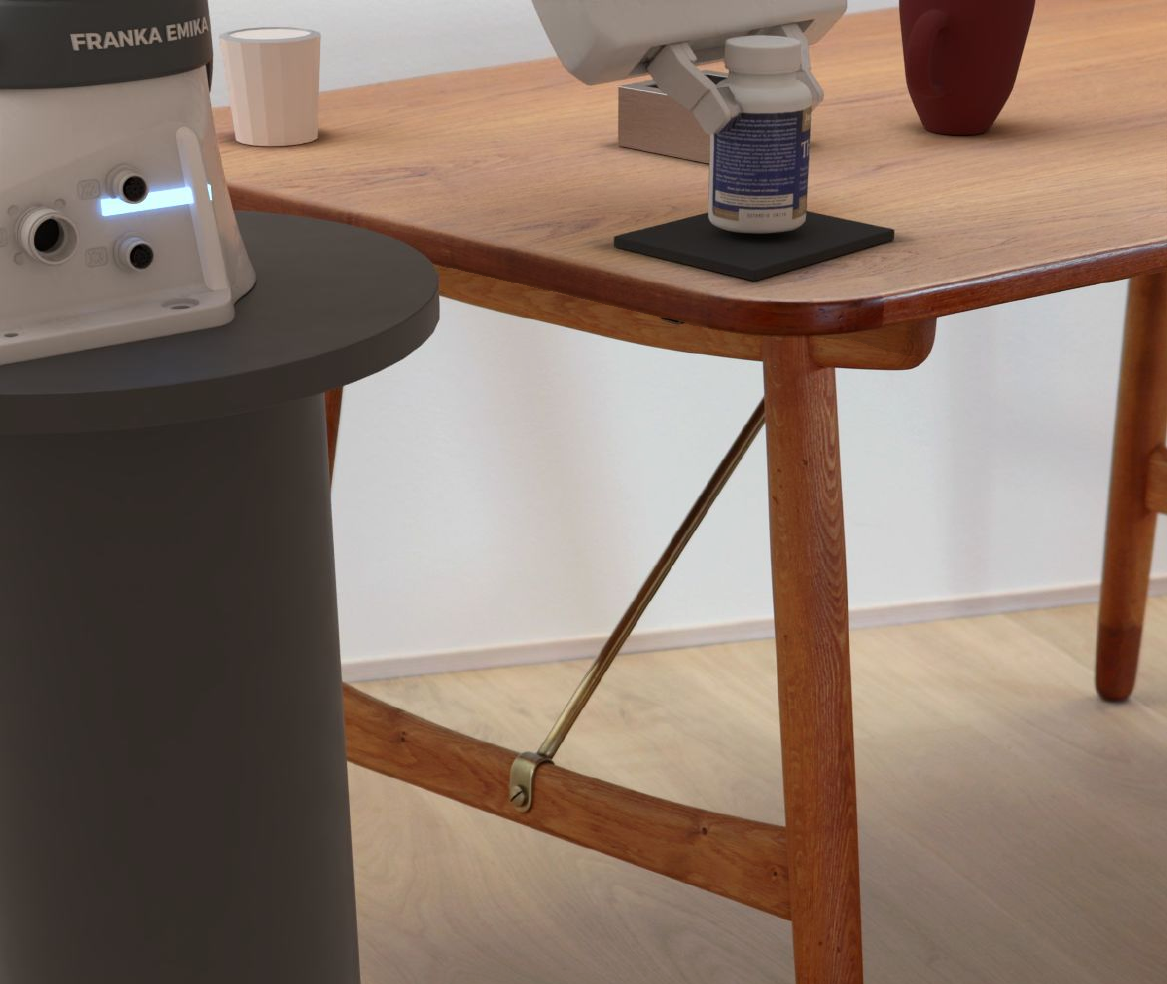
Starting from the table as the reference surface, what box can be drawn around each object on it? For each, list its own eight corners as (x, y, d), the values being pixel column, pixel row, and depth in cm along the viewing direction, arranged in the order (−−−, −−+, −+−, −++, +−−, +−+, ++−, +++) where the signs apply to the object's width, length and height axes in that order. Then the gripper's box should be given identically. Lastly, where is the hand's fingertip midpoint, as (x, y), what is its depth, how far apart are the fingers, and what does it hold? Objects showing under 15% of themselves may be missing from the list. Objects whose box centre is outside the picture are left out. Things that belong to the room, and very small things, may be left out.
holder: (716, 165, 121) (718, 102, 119) (617, 145, 126) (617, 85, 125) (803, 145, 127) (806, 85, 125) (704, 127, 132) (706, 69, 131)
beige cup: (290, 151, 125) (283, 43, 122) (206, 142, 128) (197, 36, 125) (346, 133, 130) (340, 29, 128) (263, 125, 133) (256, 23, 130)
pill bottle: (819, 233, 100) (829, 46, 96) (723, 238, 99) (728, 50, 95) (788, 209, 105) (796, 30, 101) (696, 214, 104) (700, 34, 100)
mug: (989, 155, 124) (1005, -25, 119) (857, 142, 128) (868, -33, 123) (1038, 123, 133) (1054, -44, 129) (914, 112, 137) (926, -51, 132)
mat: (754, 281, 96) (754, 270, 95) (613, 246, 102) (613, 236, 102) (894, 239, 103) (895, 229, 103) (755, 210, 110) (755, 199, 110)
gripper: (526, -120, 93) (669, 106, 90) (788, -142, 106) (919, 56, 104) (468, -34, 97) (603, 184, 95) (726, -64, 110) (850, 126, 108)
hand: (769, 117), depth 100 cm, fingers closed on pill bottle, 5 cm apart
